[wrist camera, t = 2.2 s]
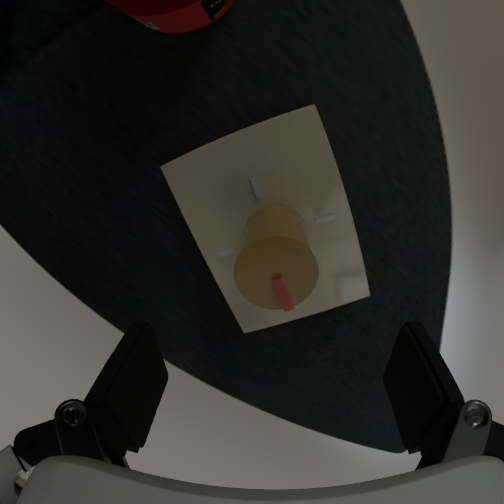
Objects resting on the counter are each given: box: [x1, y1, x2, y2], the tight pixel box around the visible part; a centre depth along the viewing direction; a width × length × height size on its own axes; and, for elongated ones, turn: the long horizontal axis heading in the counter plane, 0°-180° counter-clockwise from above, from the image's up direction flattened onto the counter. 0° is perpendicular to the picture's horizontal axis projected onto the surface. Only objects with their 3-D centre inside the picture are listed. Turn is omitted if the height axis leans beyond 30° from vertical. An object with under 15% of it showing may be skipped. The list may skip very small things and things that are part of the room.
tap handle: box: [234, 205, 319, 312], centre depth 17 cm, size 4×4×6 cm
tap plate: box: [161, 104, 370, 333], centre depth 20 cm, size 15×11×2 cm
